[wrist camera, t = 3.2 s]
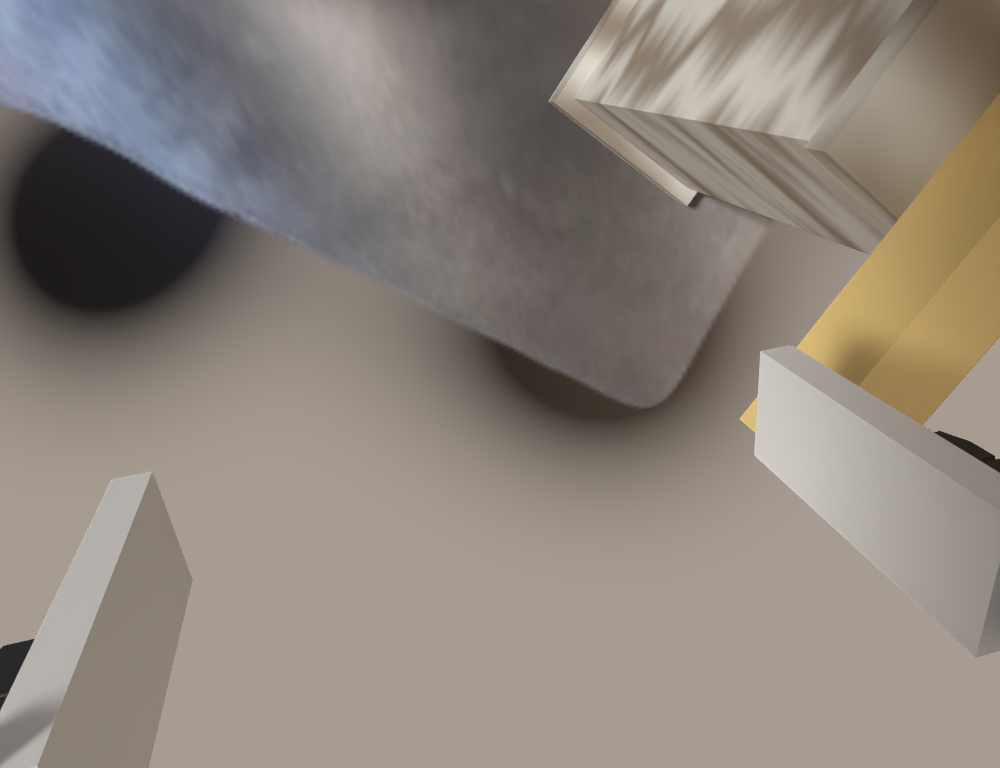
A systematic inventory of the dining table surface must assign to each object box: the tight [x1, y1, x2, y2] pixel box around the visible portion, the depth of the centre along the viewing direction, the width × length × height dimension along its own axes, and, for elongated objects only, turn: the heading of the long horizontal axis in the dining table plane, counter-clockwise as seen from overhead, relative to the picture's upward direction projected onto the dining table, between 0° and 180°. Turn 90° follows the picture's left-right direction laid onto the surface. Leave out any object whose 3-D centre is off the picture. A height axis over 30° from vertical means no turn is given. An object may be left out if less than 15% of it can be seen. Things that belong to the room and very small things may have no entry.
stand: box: [548, 0, 1000, 255], centre depth 39 cm, size 11×13×30 cm
